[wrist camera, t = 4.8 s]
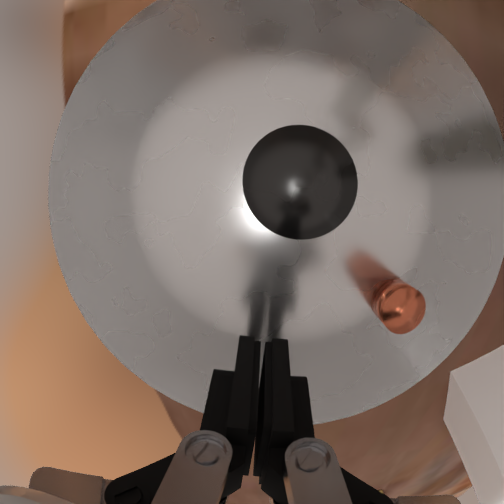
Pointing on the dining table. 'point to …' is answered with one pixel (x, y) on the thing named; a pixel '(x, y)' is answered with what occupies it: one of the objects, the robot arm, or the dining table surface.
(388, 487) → the dining table surface
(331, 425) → the dining table surface
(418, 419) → the dining table surface
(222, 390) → the robot arm
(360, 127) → the lid
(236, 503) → the dining table surface
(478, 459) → the milk
